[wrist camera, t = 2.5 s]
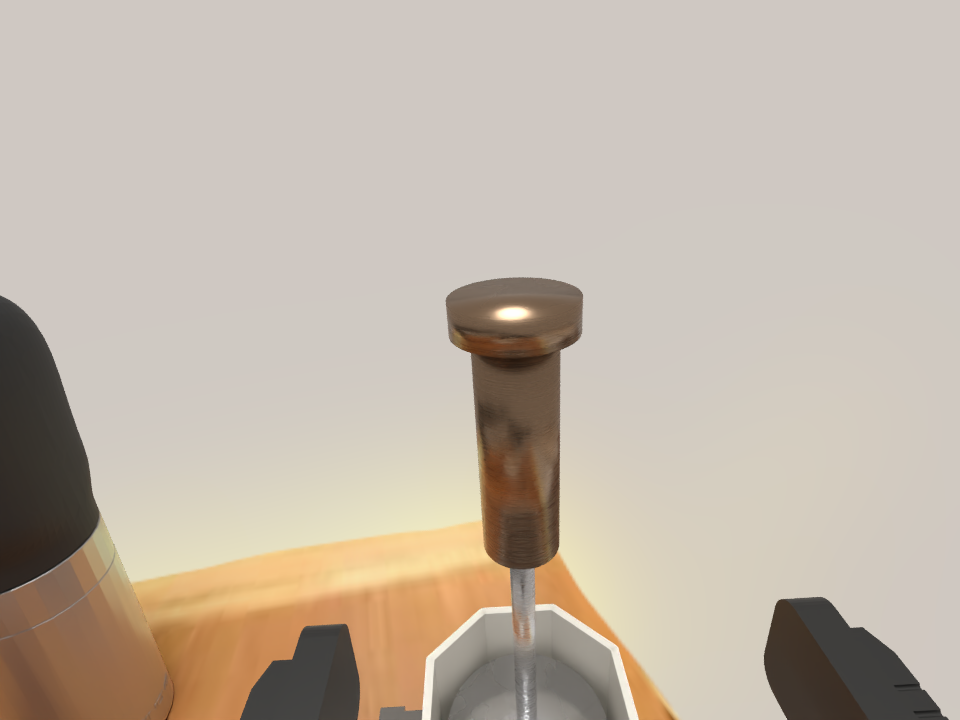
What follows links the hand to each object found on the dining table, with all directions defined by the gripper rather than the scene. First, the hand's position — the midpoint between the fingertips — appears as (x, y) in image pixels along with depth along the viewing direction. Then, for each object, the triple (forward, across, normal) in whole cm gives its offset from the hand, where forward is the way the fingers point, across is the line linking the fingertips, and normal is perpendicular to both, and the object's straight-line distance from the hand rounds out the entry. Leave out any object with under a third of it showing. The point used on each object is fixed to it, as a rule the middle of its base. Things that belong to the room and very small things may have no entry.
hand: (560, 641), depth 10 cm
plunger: (+10, 0, +19) cm, 21 cm away
